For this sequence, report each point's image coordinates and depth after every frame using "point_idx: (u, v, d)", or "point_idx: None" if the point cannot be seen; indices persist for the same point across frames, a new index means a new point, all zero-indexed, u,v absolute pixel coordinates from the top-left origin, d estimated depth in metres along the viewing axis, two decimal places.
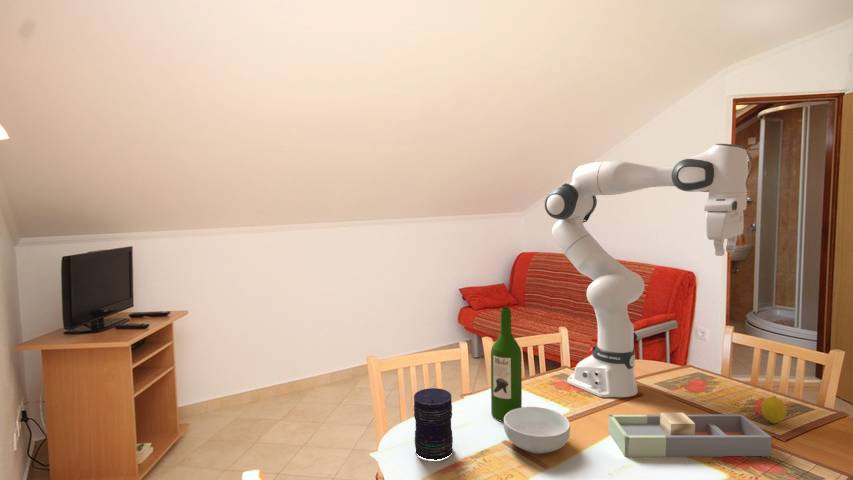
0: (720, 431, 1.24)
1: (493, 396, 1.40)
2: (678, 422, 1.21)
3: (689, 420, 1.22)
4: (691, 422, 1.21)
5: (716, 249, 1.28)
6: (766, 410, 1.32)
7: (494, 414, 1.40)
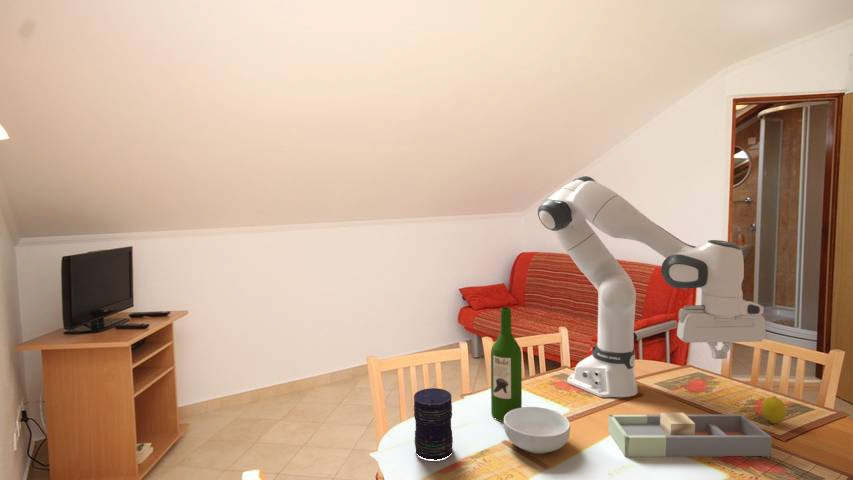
0: (720, 431, 1.24)
1: (493, 396, 1.40)
2: (678, 422, 1.21)
3: (689, 420, 1.22)
4: (691, 422, 1.21)
5: None
6: (766, 410, 1.32)
7: (494, 414, 1.40)
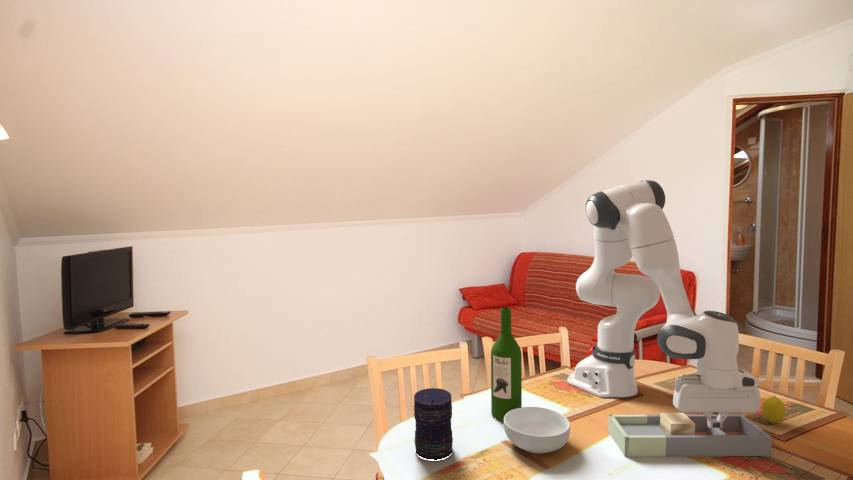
0: (720, 431, 1.24)
1: (493, 396, 1.40)
2: (678, 422, 1.21)
3: (689, 420, 1.22)
4: (691, 422, 1.21)
5: None
6: (766, 410, 1.32)
7: (494, 414, 1.40)
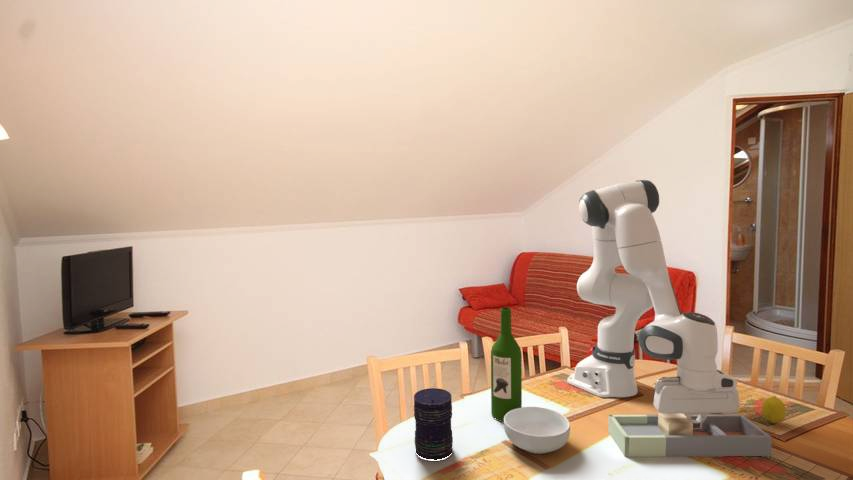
0: (720, 431, 1.24)
1: (493, 396, 1.40)
2: (676, 422, 1.21)
3: (687, 420, 1.22)
4: (689, 423, 1.21)
5: None
6: (766, 410, 1.32)
7: (494, 414, 1.40)
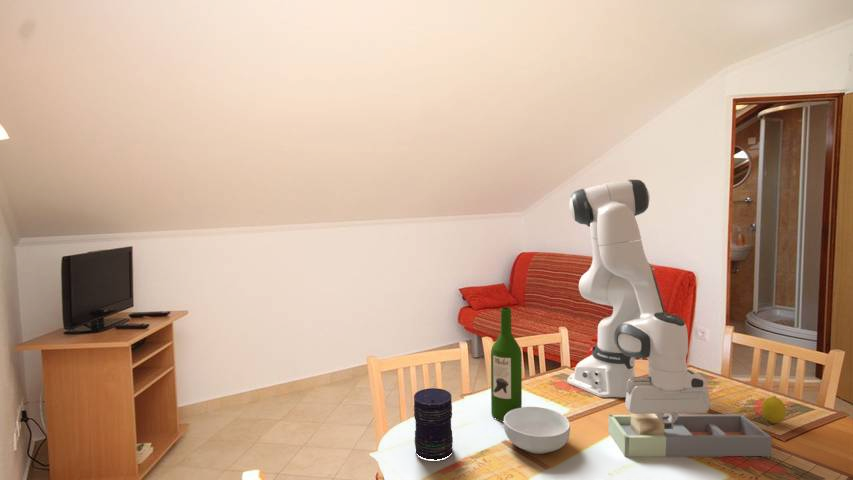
0: (720, 431, 1.24)
1: (493, 396, 1.40)
2: (647, 423, 1.21)
3: (659, 421, 1.22)
4: (660, 423, 1.21)
5: None
6: (766, 410, 1.32)
7: (494, 414, 1.40)
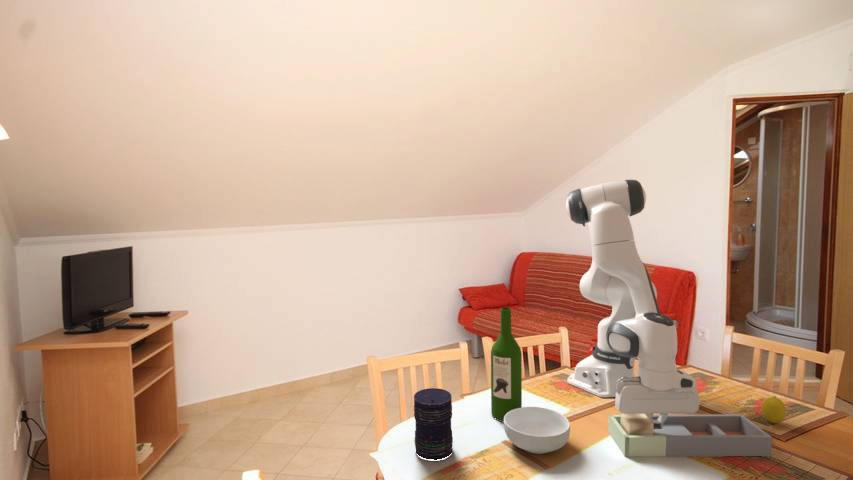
0: (720, 431, 1.24)
1: (493, 396, 1.40)
2: (637, 423, 1.21)
3: (648, 421, 1.22)
4: (649, 423, 1.21)
5: None
6: (766, 410, 1.32)
7: (494, 414, 1.40)
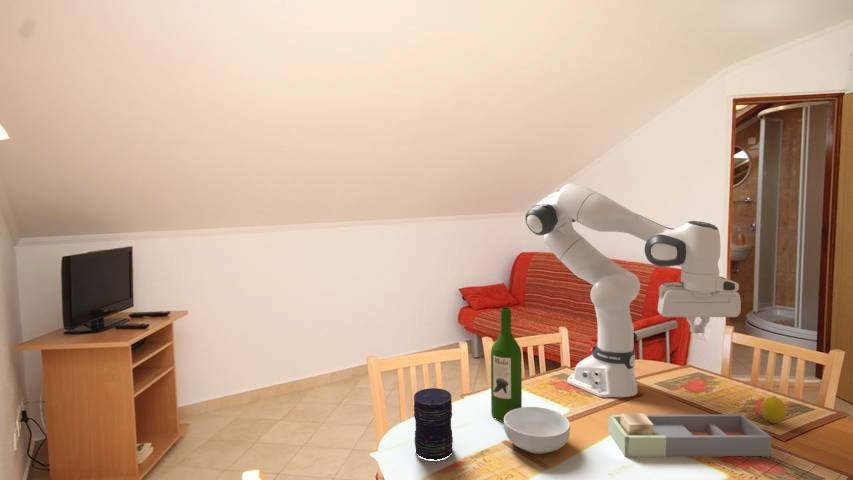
0: (720, 431, 1.24)
1: (493, 396, 1.40)
2: (637, 423, 1.21)
3: (648, 421, 1.22)
4: (649, 423, 1.21)
5: None
6: (766, 410, 1.32)
7: (494, 414, 1.40)
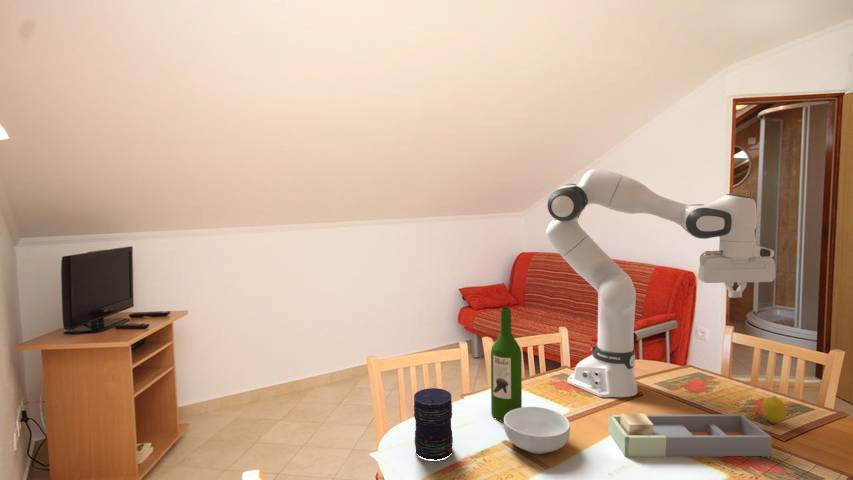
0: (720, 431, 1.24)
1: (493, 396, 1.40)
2: (637, 423, 1.21)
3: (648, 421, 1.22)
4: (649, 423, 1.21)
5: None
6: (766, 410, 1.32)
7: (494, 414, 1.40)
